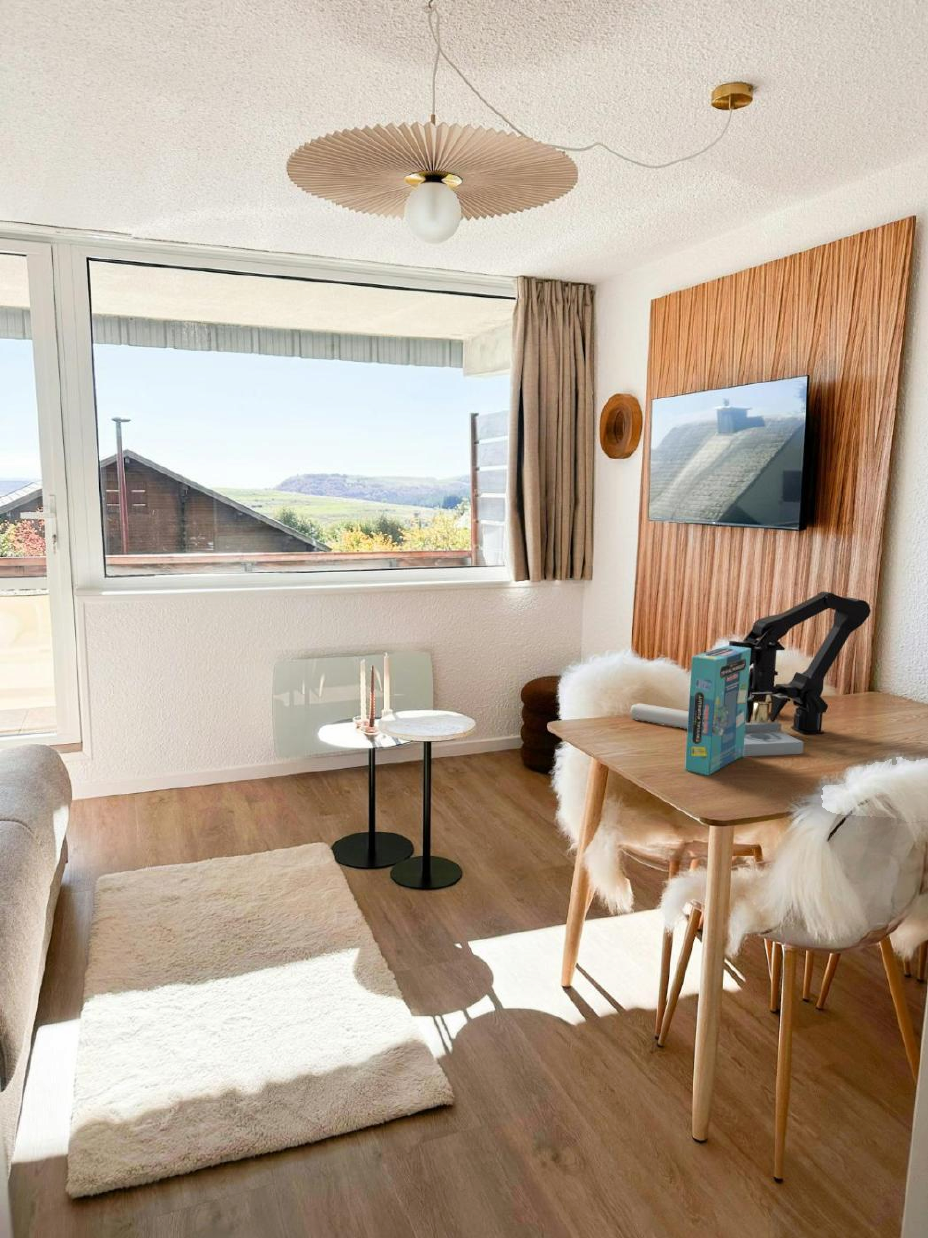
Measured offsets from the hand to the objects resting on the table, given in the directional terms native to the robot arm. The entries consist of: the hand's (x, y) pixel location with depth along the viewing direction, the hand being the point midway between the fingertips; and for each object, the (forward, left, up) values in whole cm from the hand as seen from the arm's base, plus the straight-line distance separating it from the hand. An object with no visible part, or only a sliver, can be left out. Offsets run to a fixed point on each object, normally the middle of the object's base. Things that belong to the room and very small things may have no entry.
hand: (760, 722), depth 235 cm
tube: (+21, -10, -3) cm, 23 cm away
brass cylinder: (0, 0, -3) cm, 3 cm away
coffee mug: (-10, -19, -3) cm, 22 cm away
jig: (+8, +14, -3) cm, 16 cm away
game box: (+26, +24, -3) cm, 36 cm away
